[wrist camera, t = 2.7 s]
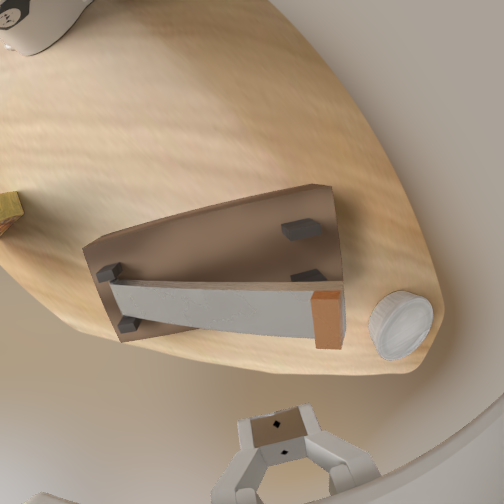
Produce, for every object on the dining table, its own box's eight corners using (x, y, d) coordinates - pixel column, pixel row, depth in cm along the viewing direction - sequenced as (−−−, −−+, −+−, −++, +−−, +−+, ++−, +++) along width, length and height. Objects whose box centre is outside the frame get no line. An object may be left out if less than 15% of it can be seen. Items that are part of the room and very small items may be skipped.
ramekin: (382, 353, 42) (397, 370, 37) (349, 325, 39) (364, 343, 34) (424, 306, 41) (442, 320, 36) (397, 271, 38) (417, 283, 32)
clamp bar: (114, 276, 26) (99, 285, 24) (343, 276, 16) (338, 294, 14) (127, 311, 27) (114, 321, 26) (346, 331, 17) (341, 352, 15)
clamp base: (102, 235, 31) (68, 257, 22) (312, 183, 32) (345, 188, 23) (132, 318, 34) (113, 358, 25) (325, 273, 36) (356, 303, 27)
